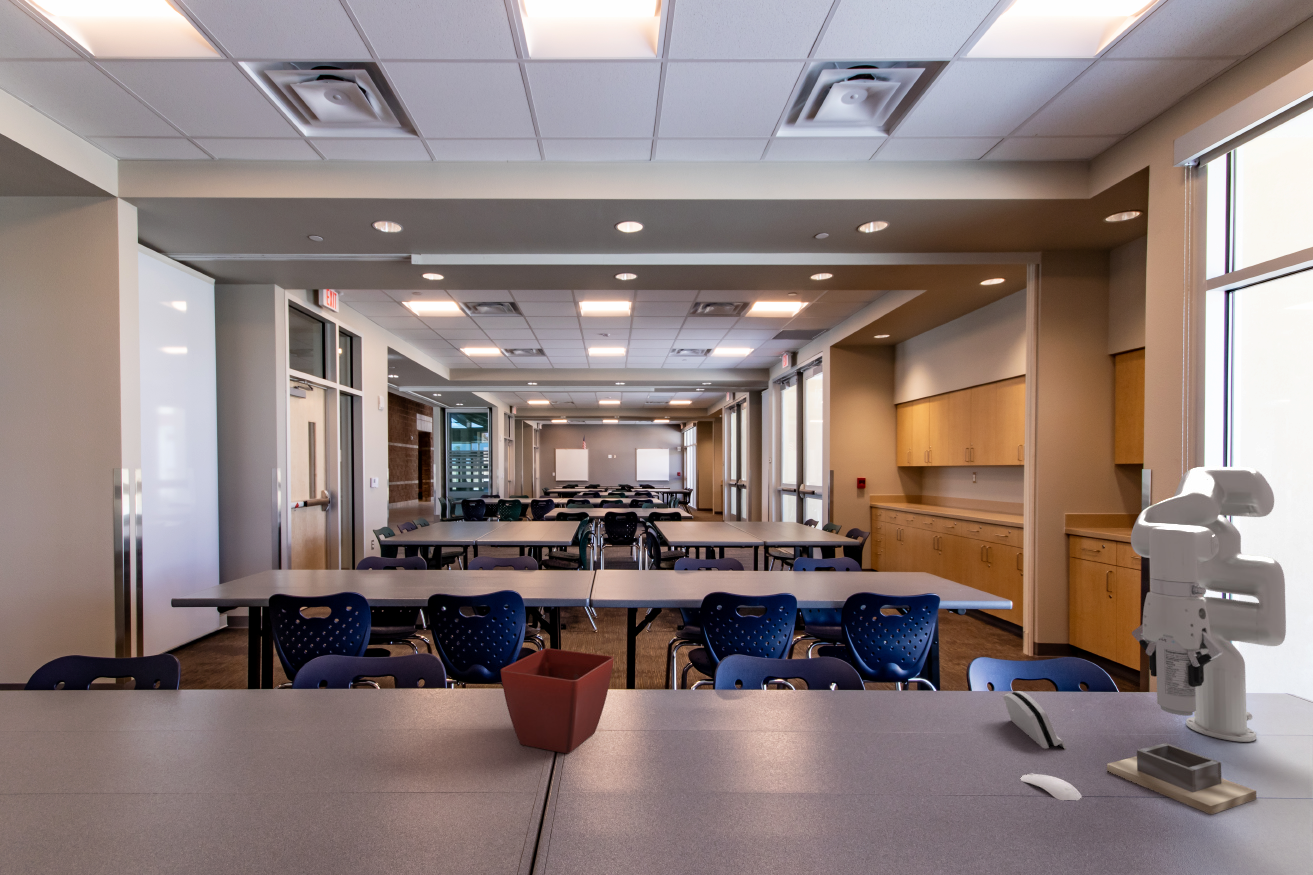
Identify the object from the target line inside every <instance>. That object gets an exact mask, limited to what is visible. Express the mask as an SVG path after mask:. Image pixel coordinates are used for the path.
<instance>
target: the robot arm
mask: <svg viewBox="0 0 1313 875" xmlns="http://www.w3.org/2000/svg"><path fill="white" fill-rule="evenodd" d="M1274 505H1275V495H1274V492H1273V489H1272V487H1271V486H1270V483H1269V482H1268V480H1267V479H1266V478H1265V476H1264V475H1263V474H1262V473H1261V472H1260V471H1258V470H1256V469H1254V468H1252V467H1248V466H1247V467H1245V466H1244V467H1243V466H1202V467H1201V466H1199V467H1194V468H1191V469H1189V470H1187V471H1186V472H1185V473H1184V474H1183V475H1182V477H1181V478H1180V482H1179V483H1178V486H1177V488H1176V491H1175V493H1174V495H1173V497H1169V498H1167V499H1164V500H1161V501H1160V502H1158V503H1155V504H1152V505H1150V506H1148V507H1146V508H1145V509H1143V510H1142V511H1141V512H1140V513H1139V515H1138V517H1137V518H1136V520H1135V522H1134V525H1133V528H1132V530H1131V534H1130V544H1131V548H1132V550H1133V551H1134V553H1135V554H1137V555H1138V556H1140V557H1143V558H1149V585H1150V586H1149V588H1150V591H1148V592H1147V593H1146V597H1145V600H1144V604H1143V605H1144V606H1143V613H1142V614H1143V615H1142V624H1141V625H1139V626H1138V627H1136V628H1135V629H1134V630H1133V631H1131V635H1132V636H1133V638H1134V639H1135V640H1136V642H1138V643H1139V645H1140V646H1141V647H1142V649H1143V650H1144V651H1145V654H1146V655H1147V656H1148V666H1149V667H1148V669H1149V670H1150V676H1151V677H1156V678H1157V671H1156V641H1157V640H1158V639H1159V638H1161V637H1163V634H1164V635H1169V636H1173V639H1174V640H1176V641H1177V642H1178V643H1179V644H1180V645H1181V646H1182V648H1183V649H1185V650H1187V654H1188V656H1189V659H1190V661H1191V665H1189V666H1188V674H1189V685H1190V686H1191V687H1196V711H1194V712H1193V716H1191V717H1188V718H1186V720H1185V721H1186V722H1185V724H1186V726H1187V727H1188V728H1189V729H1191V730H1193V731H1194V732H1197V733H1200V734H1202V735H1204V736H1208V737H1211V738H1216V739H1220V740H1225V741H1233V742H1239V743H1240V742H1241V743H1243V742H1244V743H1247V742H1249V743H1250V742H1253V741H1255V740H1257V733H1256V732H1255V731H1254V730H1253V729H1251V728H1249V727H1248V721H1251V720H1252V719H1253V715H1252V713H1250V712H1249V711H1247V688H1246V685H1247V684H1246V662H1245V660H1244V657H1243V655H1242V653H1241V652H1240V651H1239V650H1238V648H1237V647H1236V646H1235V645H1234V644H1233V643H1232V642H1240V643H1247V644H1251V645H1259V646H1266V647H1278V646H1280V645H1282V644H1283V643H1284V641H1285V638H1286V633H1287V618H1286V613H1287V612H1286V582H1285V580H1286V579H1285V573H1284V570H1283V567H1282V565H1281V564H1280V562H1278V560H1276V559H1274V558H1271V557H1267V556H1262V555H1247V554H1243V553H1242V551H1241V549H1242V545H1241V543H1242V537H1241V533H1240V531H1239V529H1238V528H1237V527H1236V526H1235V524H1233V523H1232V522H1231V521H1230V520H1229V519H1227V516H1230V517H1250V518H1261V517H1262V518H1263V517H1267V516H1268V515H1270V514H1271V512H1272V511H1273V509H1274ZM1207 591H1210V592H1216V593H1222V594H1223V593H1224V594H1230V595H1231V594H1232V595H1239V596H1248V597H1253V598H1256V599H1257V600H1258V602H1255V601H1253V602H1252V601H1246V600H1245V601H1244V600H1237V599H1231V598H1225V597H1224V598H1223V597H1213V596H1200V595H1206V593H1207Z"/></svg>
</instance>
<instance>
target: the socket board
mask: <svg viewBox="0 0 1313 875" xmlns="http://www.w3.org/2000/svg"><path fill="white" fill-rule="evenodd" d="M1106 770H1107V771H1109V772H1108V773H1110V772H1111V773H1110V774H1112V773H1113V775H1115V774H1116V775H1115V776H1117V775H1118V777H1119V776H1121V777H1120V778H1122V777H1123V778H1122V779H1124V778H1125V780H1126V781H1129V782H1131V781H1132V782H1131V783H1134V784H1136V783H1137V785H1139V786H1142V787H1144V788H1145V789H1148V788H1149V790H1151V791H1153V790H1154V791H1153V792H1156V793H1158V792H1159V793H1158V794H1161V795H1163V796H1166V797H1167V798H1171V799H1172V800H1174V801H1177V802H1180V803H1182V804H1184V805H1187V806H1189V807H1191V808H1194V809H1196V810H1199V811H1202V812H1204V813H1206V814H1209V815H1211V816H1212V815H1214V814H1217V813H1221V812H1223V811H1226V810H1228V809H1231V808H1234V807H1237V806H1240V805H1243V804H1246V803H1249V802H1251V801H1254V800H1256V799H1257V790H1255V789H1252V788H1249V787H1247V786H1244V785H1242V784H1238V783H1236V782H1234V781H1230V780H1227V779H1225V778H1222V762H1221V761H1219V760H1215V759H1213V758H1210V757H1208V756H1204V755H1201V754H1199V753H1196V752H1193V751H1190V750H1187V749H1184V748H1181V747H1179V746H1176V745H1174V744H1170V743H1166V742H1164V743H1159V744H1155V745H1151V746H1148V747H1143V748H1139V749H1136V756H1135V755H1134V756H1132V757H1128V758H1124V759H1121V760H1120V759H1119V760H1117V761H1113V762H1108V763H1107V764H1106ZM1107 771H1106V772H1107Z"/></svg>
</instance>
